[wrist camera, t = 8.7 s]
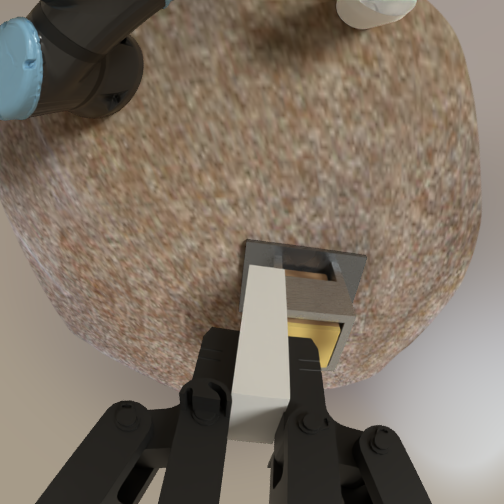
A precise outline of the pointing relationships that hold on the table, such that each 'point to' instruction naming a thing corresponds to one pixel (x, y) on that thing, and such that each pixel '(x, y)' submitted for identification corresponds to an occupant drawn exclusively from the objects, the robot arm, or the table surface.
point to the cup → (372, 11)
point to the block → (314, 325)
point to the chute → (312, 284)
